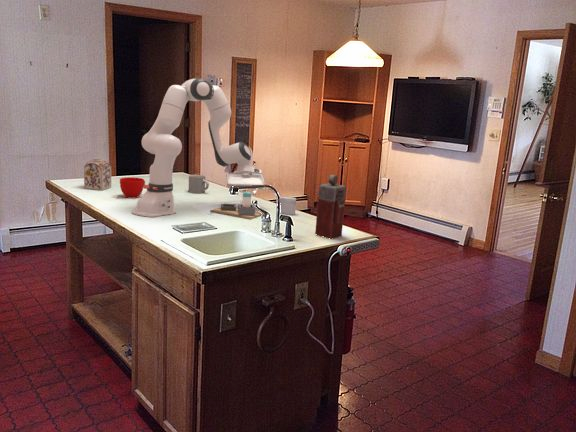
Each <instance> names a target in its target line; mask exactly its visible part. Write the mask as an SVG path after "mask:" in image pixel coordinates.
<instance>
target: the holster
mask: <svg viewBox="0 0 576 432" xmlns="http://www.w3.org/2000/svg"><path fill="white" fill-rule="evenodd" d="M236 206H237V205H236V203H234V204H233V203H220V207H221V211H236V208H237V207H236Z"/></svg>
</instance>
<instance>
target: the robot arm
mask: <svg viewBox="0 0 576 432" xmlns="http://www.w3.org/2000/svg"><path fill="white" fill-rule="evenodd" d="M199 101H203V103H205V105H206V108H207V110H208V112H209V118H210V119H209V121H208V122H207V123H208V124H207V125H208V131H209V137H210V140H211V143H212V148H213V152H214V157H215V161H216V163H217V164H218V165H219V166H221V167H223V168H225V167H228V166H230V165H232V164H236V163H237V169H236V170H237V172H235V171H234V172H231V171H230V172H228V173H226V174H225V177H226V187H227V189H231V188H230V187H231V186H252V185H266V184H265V178H264V176H263V170H262V169H259V168H256V167H254V154H253V150H252V148H251V147H250V146H248V145H247V144H246V143H244V142H242V141H240V142H236V143H232V144H230V145H227V146H223V143H222V140H221V135H220V130H221V128H222V127H223V126H224V125H225V124H227V123H228V122H229V121H230V119H231V117H232V108H231V105H230V102H229V101H228V98H227V96H226V94H225V92H224V91H223V90H222V88H221V87H220V86H218V85H216V84H215V85H212V84H211V83H210V82H209V81H208V80H206V79H204V78H200V77H198V78H191V79H188V80H185V81H183V83H181V84H172V85H171V86H169V87H168V89H167V91H166V93H165V95H164V96H163V100H162V102H161V106H160V109H159V111H158V116H157V118H156V119H155V121H154V123H153V125H152V127H151V128H150V130H149V131H148V132H146V133H145V134H144V135H142V139H141V146H142V148H143V149H144V151H146V152H148V153H149V154H152V155H155V157H154V160H153V163H152V164H151V165H150V167H149V182H148V184H145V185H144V186H143V189H146V192H145V193H144V194H143V195H141V197H140V198H139V199H138V200H137V202H136V209H133V210H132V211H131V214H133V215H137V216H140V217H149V218H156V217H160V216H161V217H163V216H167V215H173V214H174V215H175V214H176V213H177V211H176V209H175V208H176V207H175V198H174V194H173V191H174V183H173V170H174V165H175V161H176V159H177V157H178V156H179V155H180V154H181V152H182V149H183V144H182V141H181V140H180V138H178V137H177V136H174V135H172V134H173V132H174V131H175V130H176V129H177V128H178V127H179V126H180V124H181V122H182V119H183V114H184V111H185V108H186V105H187V103H188V102H199ZM258 190H264V188H254V189H253V191H252V194H253V195H252V196H257V192H258ZM235 195H239V191H238V192H237V193H236V194H235Z"/></svg>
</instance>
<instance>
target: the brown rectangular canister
mask: <svg viewBox="0 0 576 432" xmlns="http://www.w3.org/2000/svg"><path fill="white" fill-rule="evenodd" d="M338 177H339V176H338V175H335V174H330V176H328V183H324V184H323V183H322V184H320V185H319V186H318V195H317V209H316V221H315V231H314V232H315V233H314V235H315V234H317V235H320V236H319V237H321V236H324V237H323V238H325V237H326V239H329V238H330V240H332V238H333V239H336V238H339V237H342V235H343V226H344V216H345V215H344V213H345V204H346V202H345V201H346V193H347V192H346V191H347V186H345V185H343V184H337V183H338V181H339V178H338ZM317 235H316V236H317Z"/></svg>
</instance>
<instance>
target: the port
mask: <svg viewBox="0 0 576 432" xmlns="http://www.w3.org/2000/svg"><path fill="white" fill-rule="evenodd" d="M237 205H238V206H237V208H238V214H239V215H247V216H255V211H256V207H255V204H251V207H242V203H238V204H237Z"/></svg>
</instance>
